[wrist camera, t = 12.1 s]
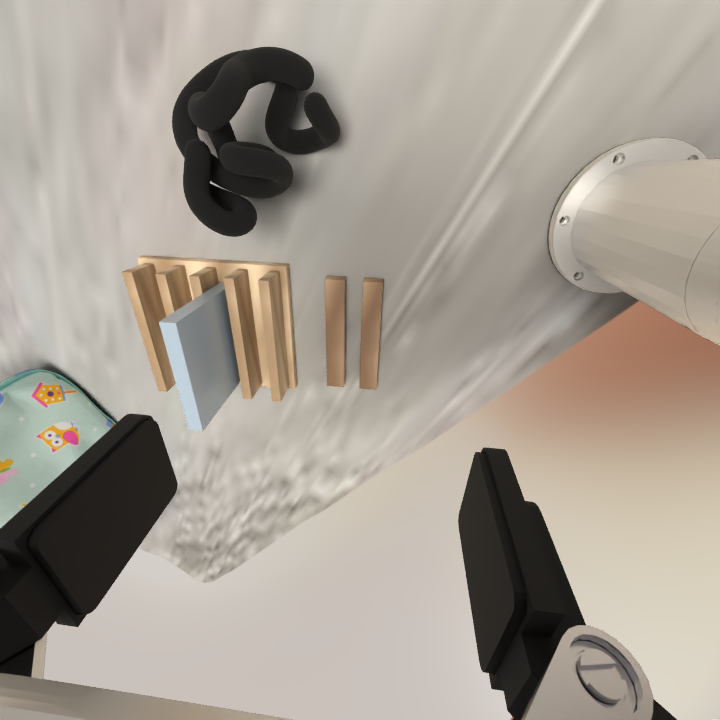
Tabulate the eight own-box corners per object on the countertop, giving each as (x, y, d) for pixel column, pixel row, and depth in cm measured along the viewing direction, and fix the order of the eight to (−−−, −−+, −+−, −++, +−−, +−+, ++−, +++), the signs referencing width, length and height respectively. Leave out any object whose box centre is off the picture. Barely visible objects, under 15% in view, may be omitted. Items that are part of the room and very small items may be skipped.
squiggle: (291, 121, 35) (227, 256, 34) (196, 13, 27) (111, 187, 26) (376, 104, 28) (297, 274, 27) (281, -52, 20) (166, 186, 19)
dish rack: (288, 264, 36) (275, 276, 32) (297, 384, 44) (287, 405, 40) (143, 255, 37) (113, 266, 34) (175, 374, 45) (154, 394, 41)
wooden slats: (383, 279, 36) (383, 282, 35) (376, 384, 42) (376, 389, 41) (327, 275, 36) (325, 279, 35) (329, 380, 43) (327, 385, 42)
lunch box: (1, 371, 48) (-253, 502, 29) (47, 345, 45) (-203, 473, 26) (136, 497, 59) (12, 651, 40) (181, 482, 55) (70, 642, 37)
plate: (234, 282, 37) (175, 323, 27) (248, 370, 42) (202, 431, 33) (221, 281, 37) (158, 321, 27) (236, 370, 42) (188, 429, 33)
